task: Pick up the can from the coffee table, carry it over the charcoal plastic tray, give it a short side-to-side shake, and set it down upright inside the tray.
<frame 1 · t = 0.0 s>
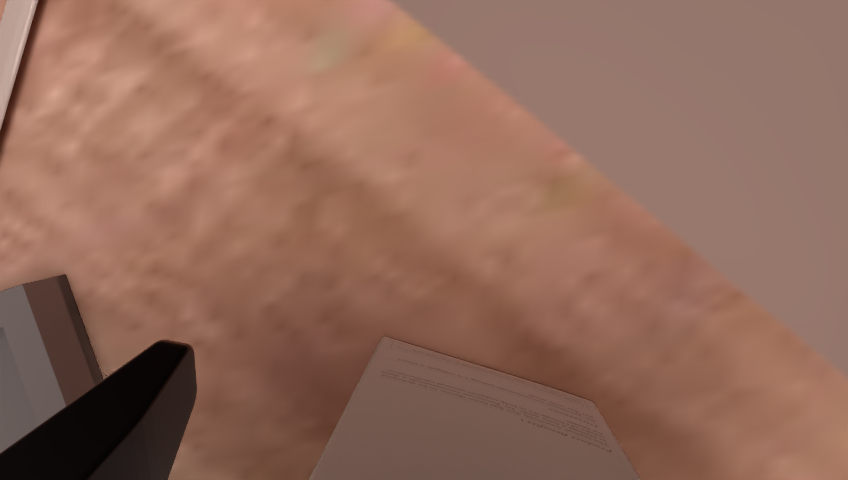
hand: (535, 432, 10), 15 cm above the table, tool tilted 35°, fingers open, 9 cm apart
supplement box: (457, 470, 26), on the table
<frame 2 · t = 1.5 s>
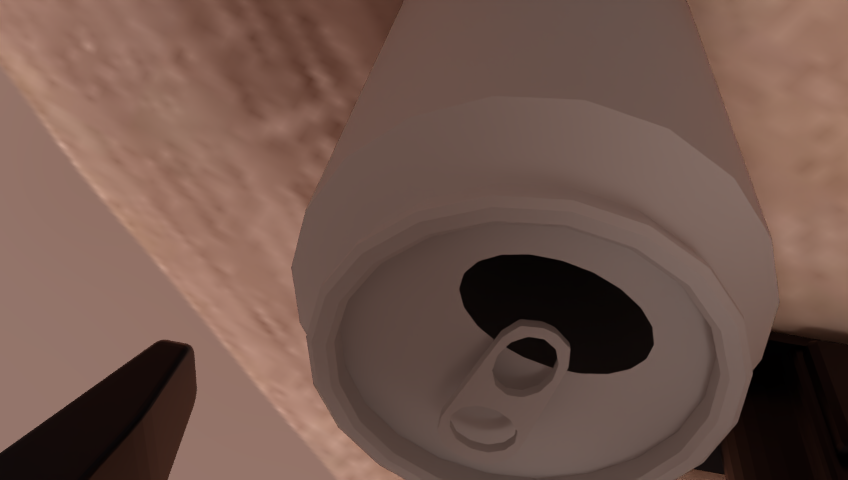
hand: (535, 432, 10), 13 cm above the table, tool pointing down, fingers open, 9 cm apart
can: (540, 49, 21), on the table
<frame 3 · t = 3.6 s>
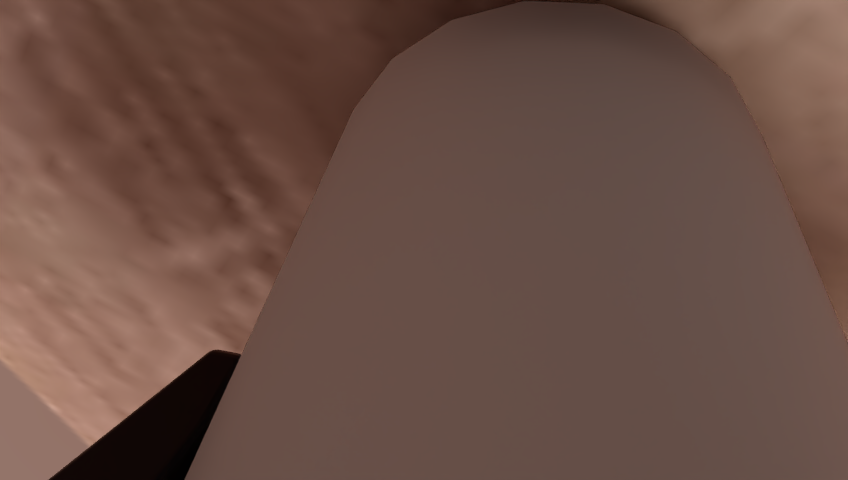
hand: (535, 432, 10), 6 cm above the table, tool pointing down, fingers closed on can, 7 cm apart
can: (544, 174, 15), on the table, touching gripper
when the fingers open (8 cm above the table, at t = 10.1 s): can stays where it is, resting on tray.
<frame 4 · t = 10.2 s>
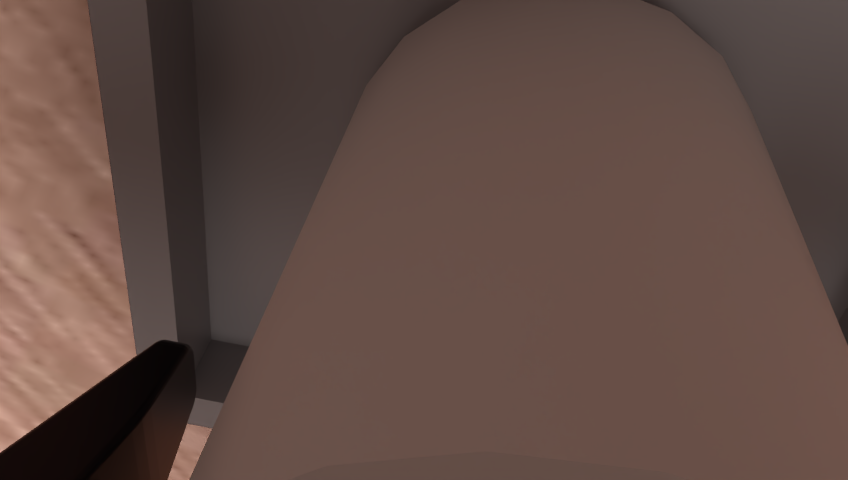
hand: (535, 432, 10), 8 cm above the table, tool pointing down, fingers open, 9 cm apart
can: (545, 150, 16), resting on tray
tray: (544, 137, 16), on the table
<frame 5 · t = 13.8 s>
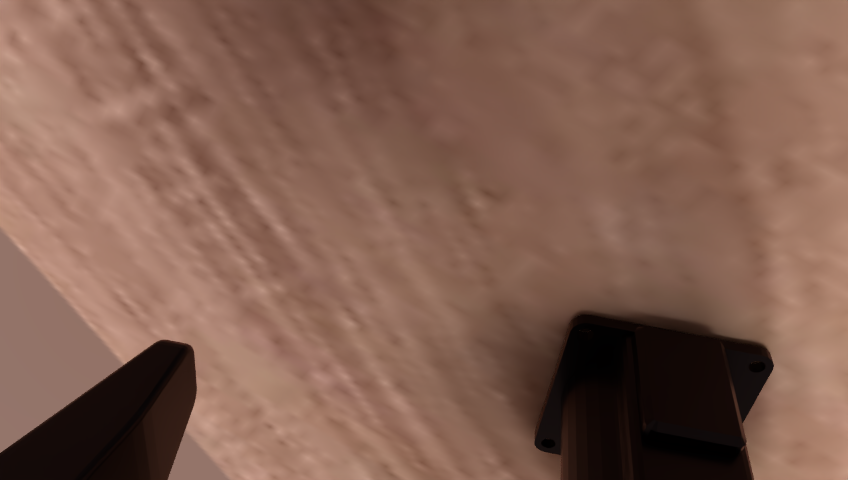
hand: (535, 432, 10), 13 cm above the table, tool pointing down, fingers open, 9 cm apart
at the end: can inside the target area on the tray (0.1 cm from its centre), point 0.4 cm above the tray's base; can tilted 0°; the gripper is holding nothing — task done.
